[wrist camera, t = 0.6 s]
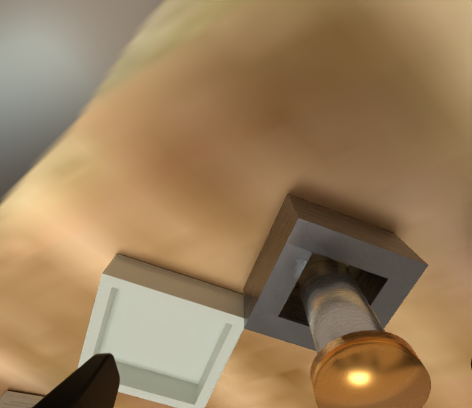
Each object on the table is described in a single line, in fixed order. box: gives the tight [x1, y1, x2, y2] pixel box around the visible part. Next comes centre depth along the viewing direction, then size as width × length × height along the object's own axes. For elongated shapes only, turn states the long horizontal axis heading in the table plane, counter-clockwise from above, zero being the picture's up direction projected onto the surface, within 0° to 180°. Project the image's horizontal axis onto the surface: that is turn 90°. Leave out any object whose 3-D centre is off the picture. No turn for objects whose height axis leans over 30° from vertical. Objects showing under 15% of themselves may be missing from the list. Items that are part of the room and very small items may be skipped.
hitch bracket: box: [244, 194, 428, 351], centre depth 20 cm, size 8×8×4 cm
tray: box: [78, 254, 244, 408], centre depth 23 cm, size 10×10×2 cm
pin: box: [297, 252, 431, 408], centre depth 17 cm, size 5×5×10 cm
